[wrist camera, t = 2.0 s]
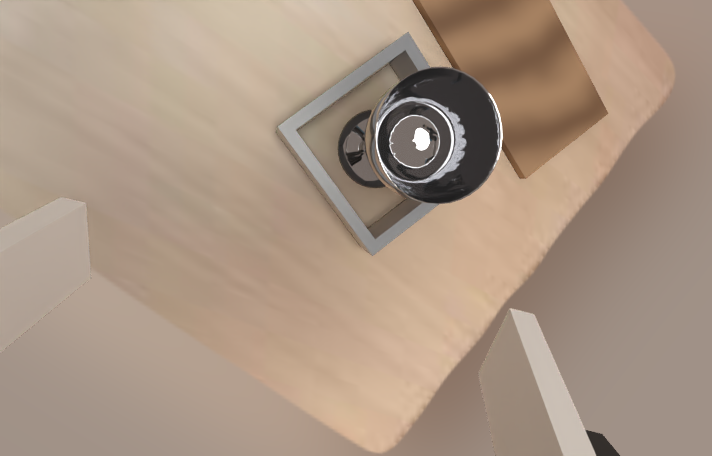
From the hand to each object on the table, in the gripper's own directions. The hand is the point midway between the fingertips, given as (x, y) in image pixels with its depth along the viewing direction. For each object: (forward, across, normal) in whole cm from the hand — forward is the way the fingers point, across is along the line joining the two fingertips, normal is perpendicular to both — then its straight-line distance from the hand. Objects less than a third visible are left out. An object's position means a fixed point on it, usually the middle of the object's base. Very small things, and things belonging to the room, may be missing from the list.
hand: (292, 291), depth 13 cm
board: (+35, +12, +7) cm, 38 cm away
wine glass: (+28, +2, -3) cm, 28 cm away
